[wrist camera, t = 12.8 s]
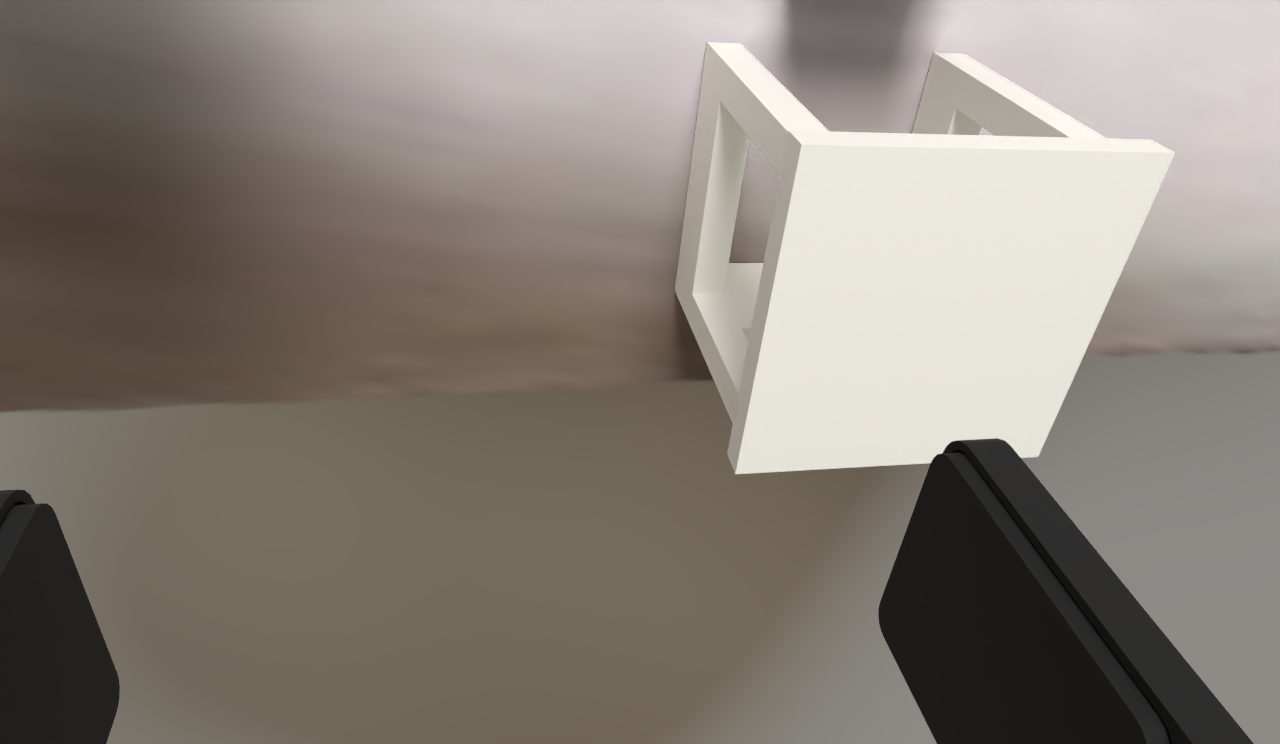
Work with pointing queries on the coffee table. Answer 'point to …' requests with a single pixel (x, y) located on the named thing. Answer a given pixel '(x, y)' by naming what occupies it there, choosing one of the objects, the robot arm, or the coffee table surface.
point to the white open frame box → (902, 266)
